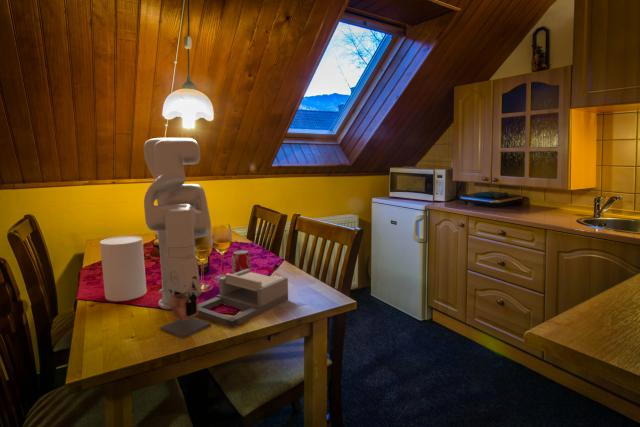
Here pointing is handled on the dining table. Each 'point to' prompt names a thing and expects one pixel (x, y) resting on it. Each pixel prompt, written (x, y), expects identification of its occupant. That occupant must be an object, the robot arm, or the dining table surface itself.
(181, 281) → the robot arm
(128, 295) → the canister
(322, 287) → the dining table surface
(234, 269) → the soda can
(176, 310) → the block
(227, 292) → the gray box frame
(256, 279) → the sliding lid
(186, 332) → the mat
